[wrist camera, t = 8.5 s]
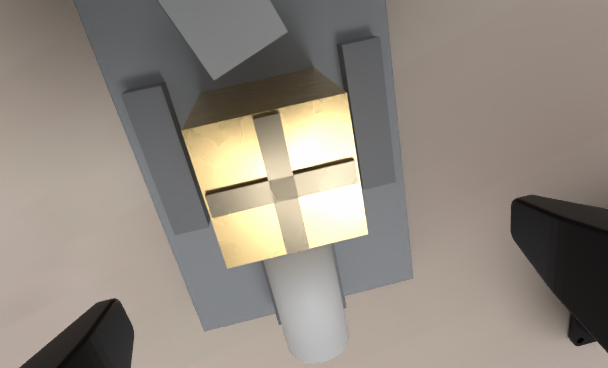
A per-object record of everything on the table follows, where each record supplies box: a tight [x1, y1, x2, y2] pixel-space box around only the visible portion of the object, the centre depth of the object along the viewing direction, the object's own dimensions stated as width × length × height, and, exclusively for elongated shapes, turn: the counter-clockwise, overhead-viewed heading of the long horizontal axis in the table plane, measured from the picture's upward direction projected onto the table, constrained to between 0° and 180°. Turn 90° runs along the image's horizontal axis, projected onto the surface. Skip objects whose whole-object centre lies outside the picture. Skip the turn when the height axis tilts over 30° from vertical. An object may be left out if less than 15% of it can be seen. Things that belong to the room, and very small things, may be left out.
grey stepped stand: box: [73, 0, 413, 363], centre depth 17 cm, size 20×12×6 cm, turn 11°
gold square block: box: [181, 67, 368, 269], centre depth 16 cm, size 5×5×6 cm
